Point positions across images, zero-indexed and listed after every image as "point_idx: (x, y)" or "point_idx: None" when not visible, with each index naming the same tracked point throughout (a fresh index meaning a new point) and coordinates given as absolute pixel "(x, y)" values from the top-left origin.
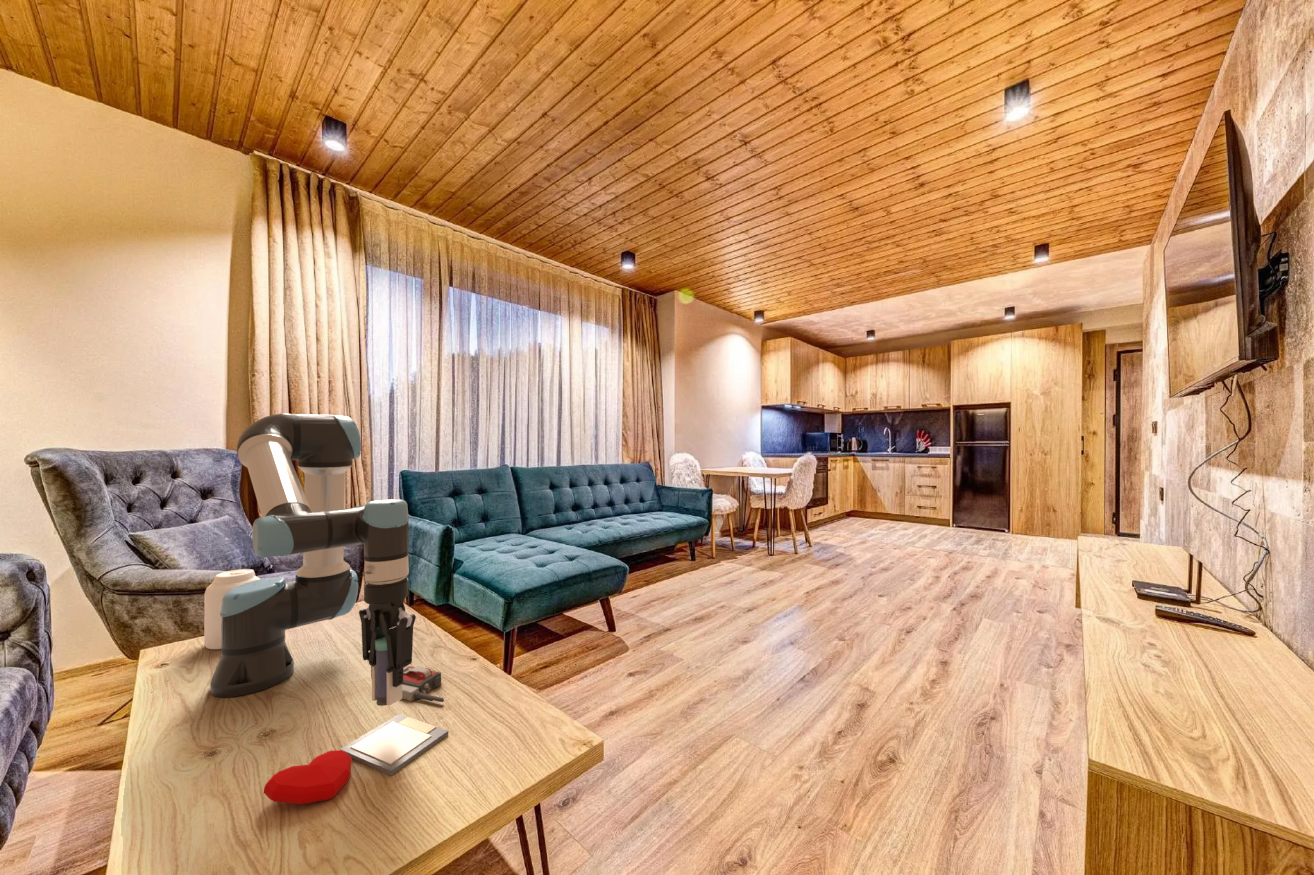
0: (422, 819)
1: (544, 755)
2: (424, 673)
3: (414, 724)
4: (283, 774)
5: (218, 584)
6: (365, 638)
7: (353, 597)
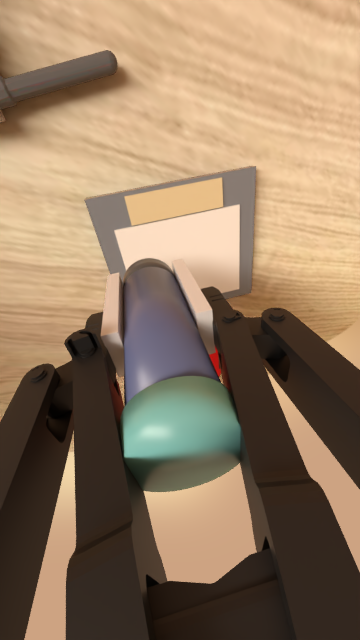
0: (341, 294)
1: None
2: None
3: (170, 205)
4: None
5: None
6: (52, 513)
7: None
